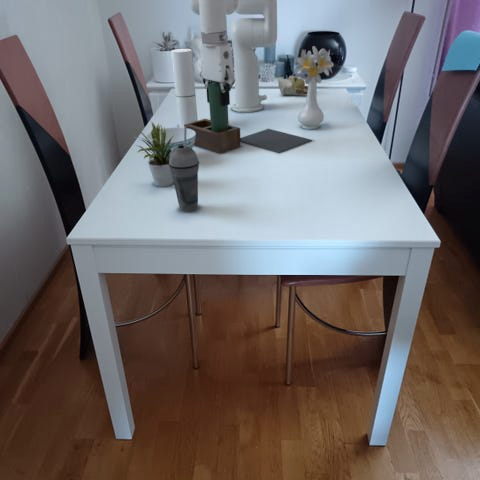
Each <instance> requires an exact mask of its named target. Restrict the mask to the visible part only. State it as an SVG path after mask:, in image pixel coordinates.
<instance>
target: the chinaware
mask: <svg viewBox="0 0 480 480" xmlns="http://www.w3.org/2000/svg"><path fill="white" fill-rule="evenodd" d="M165 130H166V139H165V147H166V144H167V142H168V141H169V140H170V138H171V137H172V136H174V135H175V136H174V137H173V138H172V140H171V142H170V144H169V146H168V148H169V147H170V146H171V145H172V144H173V143H176V144H174V145H173V146H172V147H170V149H171V150H172V151H173V150H174V149H175V148H176V147H178V146H182V145H184V128H180V127H165ZM163 132H164V128H163ZM173 134H174V135H173ZM176 134H177V135H176ZM145 136H146V137H147V139H148V140H149V141H150V142H151V144H153V142H152V141H153V139H152V135H151V131H150V132H149V133H147V134H146V135H145ZM195 137H196V133H195V131H193V130H191V129H187V128H186V146H188V147H190V148H192V149H193V148H194V143H195ZM147 139H146V140H147ZM148 140H147V141H148ZM147 141H146V142H147ZM149 141H148V142H149ZM148 142H147V143H148ZM179 143H180V144H179ZM148 144H149V143H148ZM160 145H161V128H160ZM149 146H150V147H151V148H153V147H152V146H151V145H150V144H149ZM149 146H148V147H149ZM168 148H167V150H168ZM164 150H165V149H164ZM172 151H171V152H170V154H171V153H172ZM154 152H155V151H154ZM166 152H167V151H166ZM155 154H156V152H155ZM170 154H169V155H170ZM165 155H166V153H165ZM169 155H168V156H169Z"/></svg>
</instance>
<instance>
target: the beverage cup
mask: <svg viewBox="0 0 480 480" xmlns="http://www.w3.org/2000/svg"><path fill="white" fill-rule="evenodd" d="M199 165H200V160H199V158H198V155H197V153H196V151H195V150H194V149H193V148H190V147H188V146H186V126H184V145H182V146H178V147H176V148H175V149H174V150H173V151H172V153H171V155H170V158H169V166H170V169H171V173H172V175H173V184H174V189H175V193H176V199H177V203H178V206H179V211H181V212H182V213H193V212H195V211H197V210H198V206H199V205H198V204H199V167H200V166H199Z"/></svg>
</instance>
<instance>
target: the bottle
mask: <svg viewBox="0 0 480 480" xmlns="http://www.w3.org/2000/svg"><path fill="white" fill-rule="evenodd" d="M225 85H226V84H225V83H224V87H225ZM208 91H209V103H208V104H209V117H210V119H209V120H211V130H212V131H215V132H223V131H226V130H229V125H230V124H229V105H227V106H221V95H220V93H221V92H222V90H221V87H220V83H219V82H216V81H212V83H210V84H208Z"/></svg>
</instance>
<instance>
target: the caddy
mask: <svg viewBox="0 0 480 480" xmlns="http://www.w3.org/2000/svg"><path fill="white" fill-rule="evenodd" d="M184 126H186V128H187V129H191V130H193V131H195V133H196V137H195V143H194V146H195V147H198V148H200V149H204V150H207V151H211V152H213V153H216V154H222V153H226V152H228V151H232V150H234V149H237V148H240V147H242V144H241V143H242V142H241V140H240V138H241V127H238V126H235V125H231V124H229V130H226V131H223V132H215V131H212V130H211V120H210V119H208V118H202V119H199V120H198V121H195V122H191V123H188V124H184ZM194 146H193V147H194Z"/></svg>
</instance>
